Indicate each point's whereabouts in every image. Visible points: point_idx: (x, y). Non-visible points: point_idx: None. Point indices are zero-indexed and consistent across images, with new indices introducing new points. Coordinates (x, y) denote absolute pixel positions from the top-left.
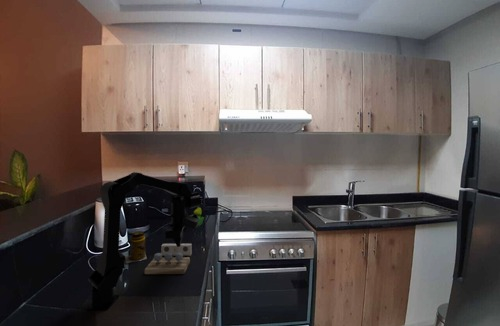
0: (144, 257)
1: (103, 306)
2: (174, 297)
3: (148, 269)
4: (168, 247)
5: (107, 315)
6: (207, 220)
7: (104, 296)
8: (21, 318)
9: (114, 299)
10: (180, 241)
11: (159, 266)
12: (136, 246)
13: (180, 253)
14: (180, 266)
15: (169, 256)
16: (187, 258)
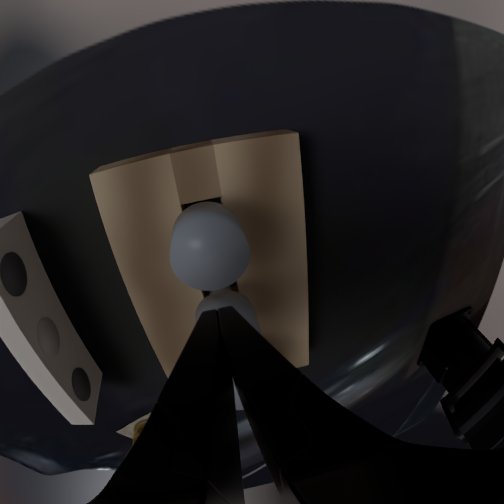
0: None
1: (468, 321)
2: (467, 120)
3: (308, 351)
4: (72, 385)
5: (484, 289)
6: None
7: (482, 338)
8: (431, 408)
9: (448, 321)
10: (280, 357)
11: (274, 321)
12: None
13: (185, 253)
14: (261, 180)
15: (254, 319)
16: (112, 186)
